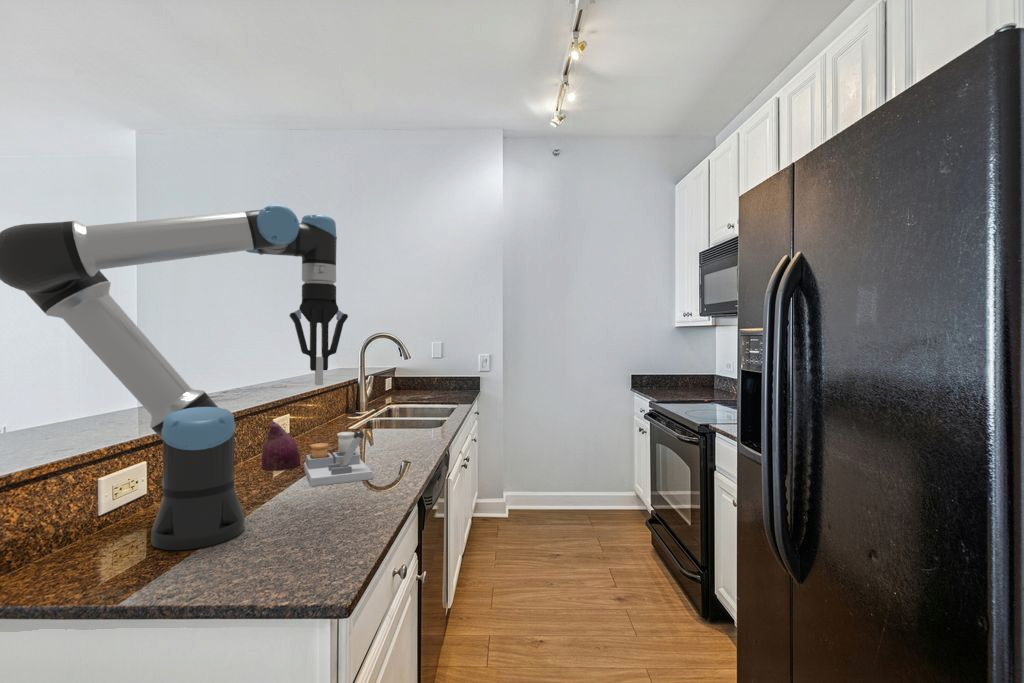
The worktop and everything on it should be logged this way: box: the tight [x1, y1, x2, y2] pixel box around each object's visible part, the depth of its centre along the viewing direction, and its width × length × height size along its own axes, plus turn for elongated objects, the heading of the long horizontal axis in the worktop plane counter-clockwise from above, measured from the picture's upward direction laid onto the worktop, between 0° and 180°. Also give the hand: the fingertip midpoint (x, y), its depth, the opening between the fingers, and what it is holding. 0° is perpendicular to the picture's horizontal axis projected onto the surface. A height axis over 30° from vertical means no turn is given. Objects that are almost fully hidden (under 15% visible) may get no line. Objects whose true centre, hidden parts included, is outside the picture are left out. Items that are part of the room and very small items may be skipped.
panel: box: [303, 450, 373, 487], centre depth 141 cm, size 15×18×4 cm
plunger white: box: [336, 431, 355, 453], centre depth 146 cm, size 5×5×5 cm
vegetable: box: [261, 420, 301, 472], centre depth 148 cm, size 10×10×15 cm
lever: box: [339, 430, 365, 467], centre depth 138 cm, size 3×3×11 cm
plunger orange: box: [310, 442, 329, 459], centre depth 143 cm, size 5×5×5 cm
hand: (319, 384), depth 121 cm, fingers closed
